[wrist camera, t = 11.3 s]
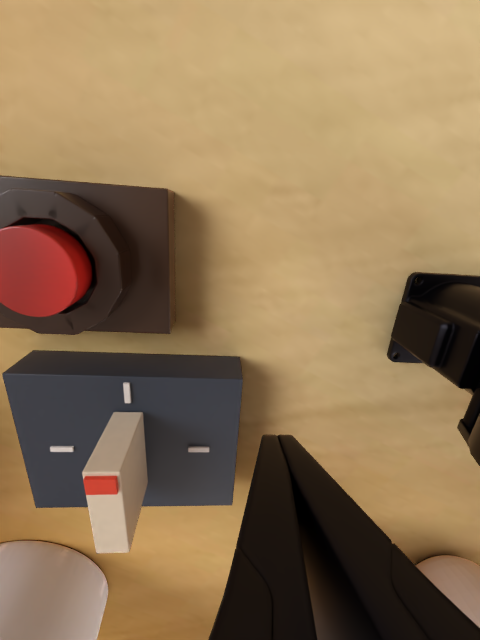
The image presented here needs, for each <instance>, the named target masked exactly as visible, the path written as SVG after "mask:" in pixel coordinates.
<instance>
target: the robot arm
mask: <svg viewBox="0 0 480 640" xmlns="http://www.w3.org/2000/svg"><path fill="white" fill-rule="evenodd" d="M416 278H418V281H417V282H416V283H415V280H416ZM395 353H397V354H396V355H395V356H393V355H394V354H395ZM387 357H388V358H389V359H390V360H391V361H392V362H407V363H425V364H426V365H427V366H429V367H432V368H433V369H435V370H436V371H437V372H439V373H440V374H441V375H443V376H444V377H445V378H447V379H448V380H449V381H451V382H452V383H453V384H455V385H456V386H458V387H459V388H461V389H465V390H466V391H468V392H469V393H470V394H472V395H473V396H472V399H471V401H470V404H469V406H468V408H467V411H466V413H465V416H464V418H463V419H461V420H460V422H459V424H458V427H457V428H458V430H459V431H460V433H461V435H462V436H463V438H464V440H465V441H466V443H467V445H468V446H469V448H470V452H471V455H472V456H473V457H474V459H475V460H476V462H477V463H478V465H479V466H480V276H473V275H456V274H439V273H422V272H415V273H412V274H411V275H410V276H409V277H408V280H407V283H406V287H405V290H404V294H403V298H402V301H401V304H400V306H399V309H398V313H397V316H396V320H395V324H394V327H393V331H392V335H391V341H390V345H389V348H388V352H387ZM208 640H480V628H479V627H478V626H477V625H476V624H475V623H474V622H473V621H472V620H471V619H470V618H468V617H467V616H466V615H465V614H464V613H463V612H462V611H461V610H460V609H459V608H458V607H457V606H456V605H455V604H454V603H453V602H452V601H451V600H450V599H449V598H447V597H446V596H445V595H444V594H443V593H442V592H441V591H440V590H439V589H438V588H437V587H436V586H435V585H434V584H433V583H432V582H431V581H430V580H429V579H428V578H427V577H426V576H425V575H424V574H423V573H422V572H421V571H420V570H419V569H418V568H417V567H416V566H415V565H414V564H413V563H412V562H411V561H410V560H409V559H408V557H407V556H406V555H405V554H404V553H403V552H402V551H401V550H400V549H399V548H398V547H397V546H396V545H395V544H392V542H391V540H390V539H389V537H388V536H387V535H386V534H385V533H384V532H383V531H382V530H381V529H380V528H379V527H378V526H377V525H376V524H375V523H374V522H373V521H372V519H371V518H370V517H369V516H368V515H367V514H366V513H365V512H364V511H363V510H362V509H361V508H360V507H359V506H358V505H357V504H356V503H355V501H354V500H353V499H352V498H351V497H350V496H349V495H348V494H347V493H346V492H345V491H344V490H343V489H342V488H341V487H340V486H339V484H338V483H337V482H336V481H335V480H334V479H333V478H332V477H331V476H330V475H329V474H328V473H327V472H326V471H325V470H324V469H323V468H322V466H321V465H320V464H319V463H318V462H317V461H316V460H315V459H314V458H313V457H312V456H311V455H310V454H309V453H308V452H307V451H306V449H305V448H304V447H303V446H302V445H301V444H300V443H299V442H298V441H297V440H296V439H295V438H294V437H293V436H292V435H278V436H276V435H263V436H262V439H261V444H260V448H259V452H258V456H257V461H256V465H255V469H254V473H253V478H252V482H251V486H250V490H249V495H248V499H247V503H246V507H245V511H244V516H243V520H242V524H241V528H240V533H239V537H238V541H237V546H236V549H235V553H234V557H233V561H232V566H231V570H230V573H229V577H228V581H227V584H226V588H225V592H224V595H223V598H222V601H221V604H220V607H219V610H218V613H217V616H216V619H215V622H214V625H213V628H212V631H211V634H210V637H209V639H208Z"/></svg>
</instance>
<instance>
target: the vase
mask: <svg viewBox="0 0 480 640" xmlns="http://www.w3.org/2000/svg"><path fill="white" fill-rule="evenodd" d="M416 567H417V568H418V569H419V570H420V571H421V572H422V573H423V574H424V575H425V576H426V577H427V578H428V579H429V580H430V581H431V582H432V583H433V584H434V585H435V586H436V587H437V588H438V589H439V590H440V591H441V592H442V593H443V594H444V595H445V596H446V597H447V598H449V599H450V600H451V601H452V602H453V603H454V604H455V605H456V606H457V607H458V608H459V609H460V610H461V611H462V612H463V613H464V614H465V615H466V616H467V617H468V618H470V619H471V620H472V621H473V622H474V623H475V624H476V625H477V626H478V627H479V628H480V566H479V565H478V564H476V563H474V562H472V561H470V560H467V559H464V558H461V557H457V556H450V555H441V556H435V557H431V558H428V559H426V560H424V561H421V562H420V563H418V564H417V565H416Z"/></svg>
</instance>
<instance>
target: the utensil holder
mask: <svg viewBox="0 0 480 640" xmlns="http://www.w3.org/2000/svg"><path fill="white" fill-rule="evenodd" d="M107 597H108V584H107V580H106V578H105V576H104V574H103V572H102V571H101V570H100V568H99V567H98V566H97V565H96V564H95V563H94V562H93V561H92V560H90V559H89V558H88V557H86V556H85V555H83V554H81V553H79V552H77V551H75V550H73V549H70V548H68V547H65V546H61V545H58V544H53V543H49V542H42V541H12V542H5V543H1V544H0V640H97V637H98V633H99V629H100V625H101V621H102V617H103V613H104V609H105V605H106V601H107Z"/></svg>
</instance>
